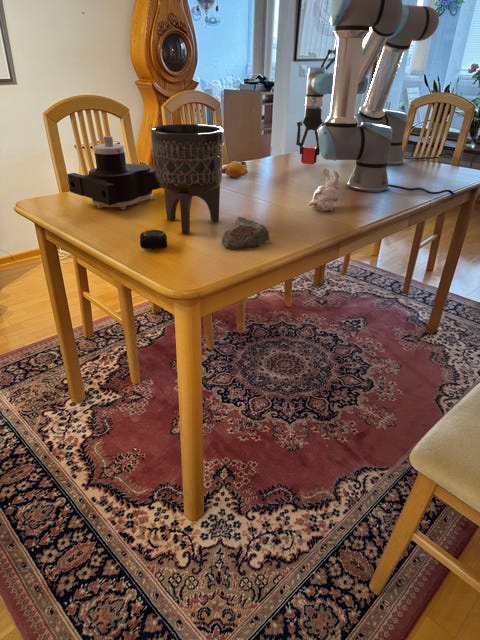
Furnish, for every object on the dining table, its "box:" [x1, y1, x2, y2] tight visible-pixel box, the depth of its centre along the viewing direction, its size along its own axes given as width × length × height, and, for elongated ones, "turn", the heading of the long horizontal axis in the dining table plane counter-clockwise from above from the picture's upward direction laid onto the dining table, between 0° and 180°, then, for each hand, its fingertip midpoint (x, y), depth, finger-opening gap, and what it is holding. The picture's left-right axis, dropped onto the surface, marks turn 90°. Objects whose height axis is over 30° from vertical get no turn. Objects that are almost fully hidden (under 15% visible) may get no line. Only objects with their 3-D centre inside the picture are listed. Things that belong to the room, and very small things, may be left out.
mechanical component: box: [67, 135, 162, 210], centre depth 149 cm, size 22×21×30 cm
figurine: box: [308, 167, 340, 211], centre depth 148 cm, size 8×15×13 cm, turn 145°
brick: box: [301, 145, 317, 165], centre depth 210 cm, size 6×5×7 cm
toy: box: [222, 160, 249, 178], centre depth 190 cm, size 11×6×15 cm
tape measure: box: [139, 229, 168, 250], centre depth 117 cm, size 7×7×4 cm
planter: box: [149, 123, 225, 235], centre depth 128 cm, size 20×20×26 cm
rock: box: [221, 216, 270, 250], centre depth 119 cm, size 13×9×6 cm, turn 131°
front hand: (308, 161), depth 211 cm, fingers closed on brick, 5 cm apart
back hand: (338, 87), depth 231 cm, fingers open, 13 cm apart
